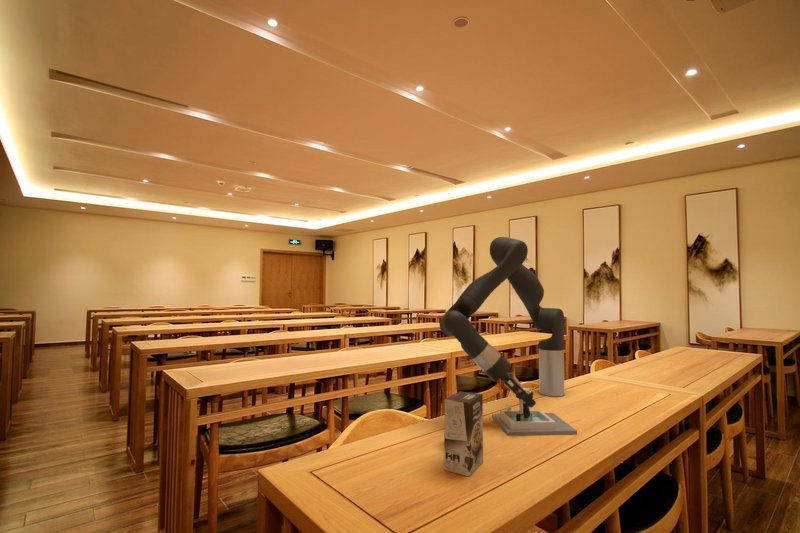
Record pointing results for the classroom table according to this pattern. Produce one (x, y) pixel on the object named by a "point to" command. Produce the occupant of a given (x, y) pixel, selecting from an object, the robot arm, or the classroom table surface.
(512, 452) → the classroom table surface
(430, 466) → the classroom table surface
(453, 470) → the coffee box
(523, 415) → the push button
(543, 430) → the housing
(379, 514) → the classroom table surface
